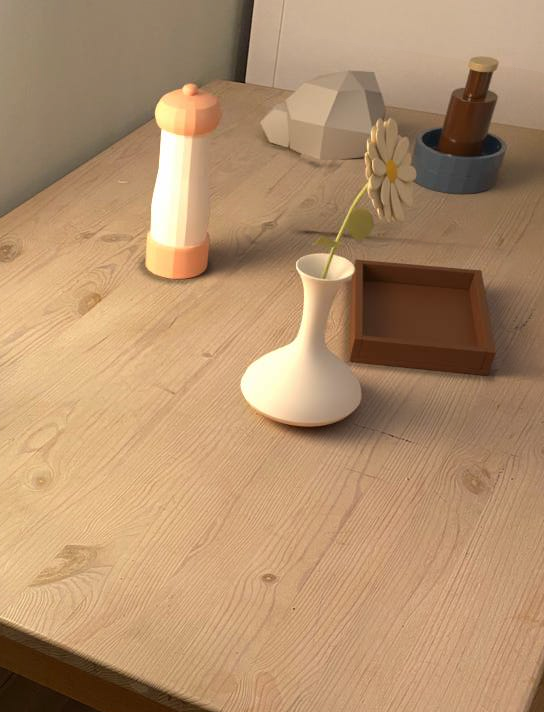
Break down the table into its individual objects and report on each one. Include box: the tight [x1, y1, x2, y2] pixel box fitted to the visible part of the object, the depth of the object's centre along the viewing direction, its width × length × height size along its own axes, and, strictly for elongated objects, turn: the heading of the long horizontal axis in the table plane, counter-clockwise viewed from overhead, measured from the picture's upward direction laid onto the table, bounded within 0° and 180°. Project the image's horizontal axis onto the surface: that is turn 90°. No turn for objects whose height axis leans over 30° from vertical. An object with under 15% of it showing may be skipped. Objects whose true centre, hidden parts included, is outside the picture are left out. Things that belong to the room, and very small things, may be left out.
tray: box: [348, 259, 497, 376], centre depth 100 cm, size 14×18×3 cm
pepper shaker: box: [145, 83, 223, 280], centre depth 104 cm, size 7×7×19 cm
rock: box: [259, 70, 387, 161], centre depth 134 cm, size 18×20×10 cm
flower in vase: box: [240, 117, 416, 427], centre depth 83 cm, size 13×11×25 cm
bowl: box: [410, 126, 508, 195], centre depth 125 cm, size 11×11×5 cm
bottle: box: [436, 56, 500, 157], centre depth 121 cm, size 6×6×14 cm
